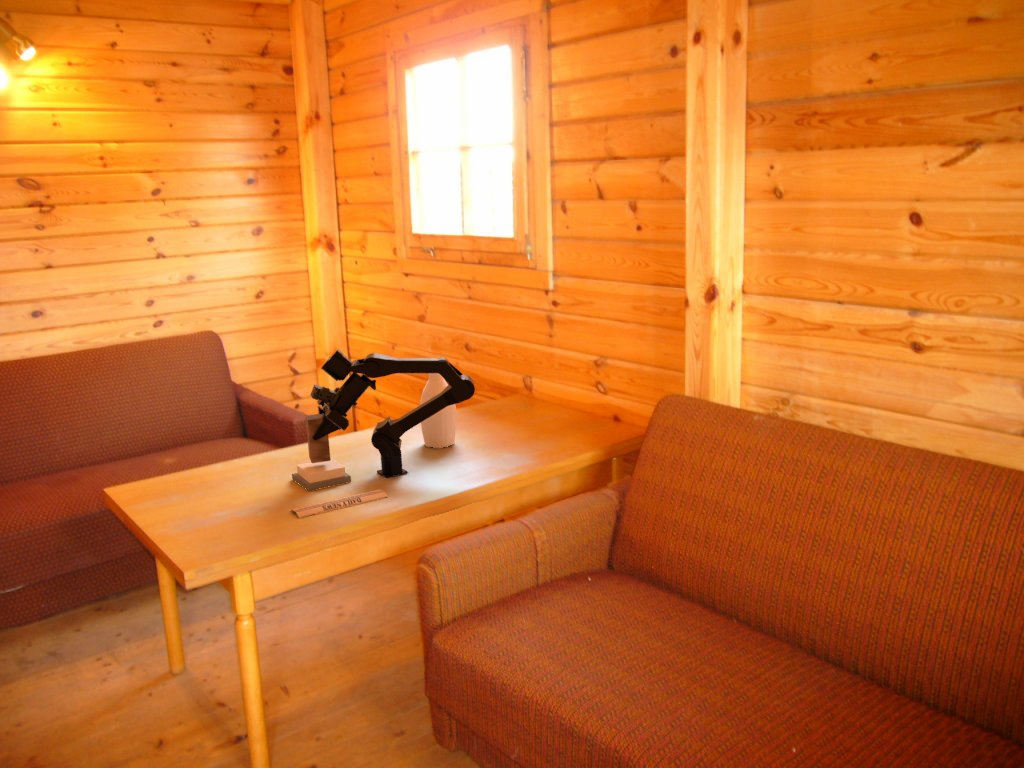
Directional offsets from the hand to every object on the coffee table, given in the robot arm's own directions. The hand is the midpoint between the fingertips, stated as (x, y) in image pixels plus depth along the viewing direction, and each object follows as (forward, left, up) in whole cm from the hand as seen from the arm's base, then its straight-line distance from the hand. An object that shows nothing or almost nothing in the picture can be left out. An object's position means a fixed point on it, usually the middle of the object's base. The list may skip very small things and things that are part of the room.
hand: (312, 436), depth 239 cm
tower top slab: (0, -1, -11) cm, 11 cm away
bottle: (+8, -43, -13) cm, 46 cm away
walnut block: (0, -1, -7) cm, 7 cm away
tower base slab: (0, -1, -13) cm, 13 cm away
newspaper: (-21, +2, -14) cm, 25 cm away
